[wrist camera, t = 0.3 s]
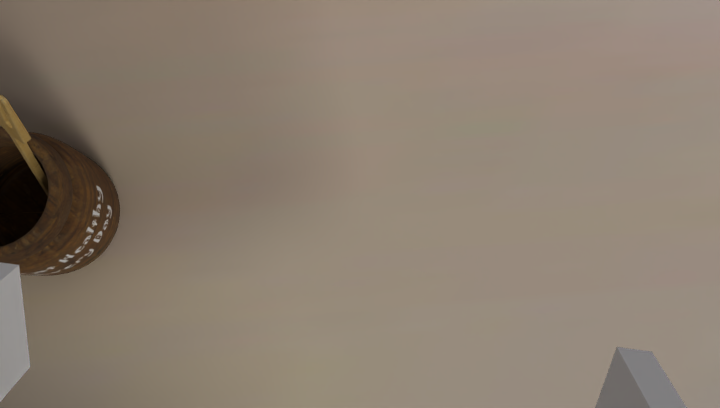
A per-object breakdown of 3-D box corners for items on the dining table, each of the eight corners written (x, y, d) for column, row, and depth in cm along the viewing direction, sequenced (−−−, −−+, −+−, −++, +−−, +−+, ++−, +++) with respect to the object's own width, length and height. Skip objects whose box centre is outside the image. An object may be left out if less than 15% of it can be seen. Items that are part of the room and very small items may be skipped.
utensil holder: (-34, 221, 29) (-263, 176, 17) (62, 124, 30) (-90, 17, 18) (61, 302, 29) (-101, 314, 17) (154, 202, 30) (63, 147, 18)
